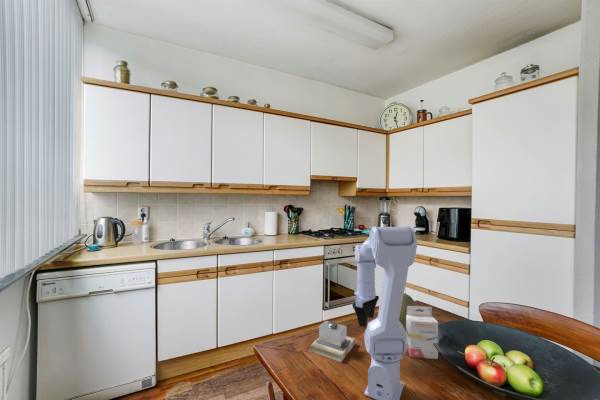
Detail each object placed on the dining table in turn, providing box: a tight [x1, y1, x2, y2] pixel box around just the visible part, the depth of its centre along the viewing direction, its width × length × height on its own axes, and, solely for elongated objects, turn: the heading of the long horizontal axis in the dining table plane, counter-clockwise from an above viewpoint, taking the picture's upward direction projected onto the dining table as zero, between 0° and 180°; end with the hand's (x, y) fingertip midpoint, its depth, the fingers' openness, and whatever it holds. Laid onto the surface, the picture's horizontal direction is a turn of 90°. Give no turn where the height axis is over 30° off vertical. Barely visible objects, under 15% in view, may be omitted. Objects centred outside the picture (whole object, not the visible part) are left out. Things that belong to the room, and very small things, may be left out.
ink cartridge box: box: [406, 305, 439, 360], centre depth 83 cm, size 9×5×15 cm, turn 84°
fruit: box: [399, 292, 419, 331], centre depth 97 cm, size 11×11×15 cm
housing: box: [318, 320, 348, 348], centre depth 87 cm, size 5×8×6 cm, turn 57°
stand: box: [309, 335, 356, 363], centre depth 87 cm, size 12×11×2 cm
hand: (366, 321), depth 86 cm, fingers open, 7 cm apart
